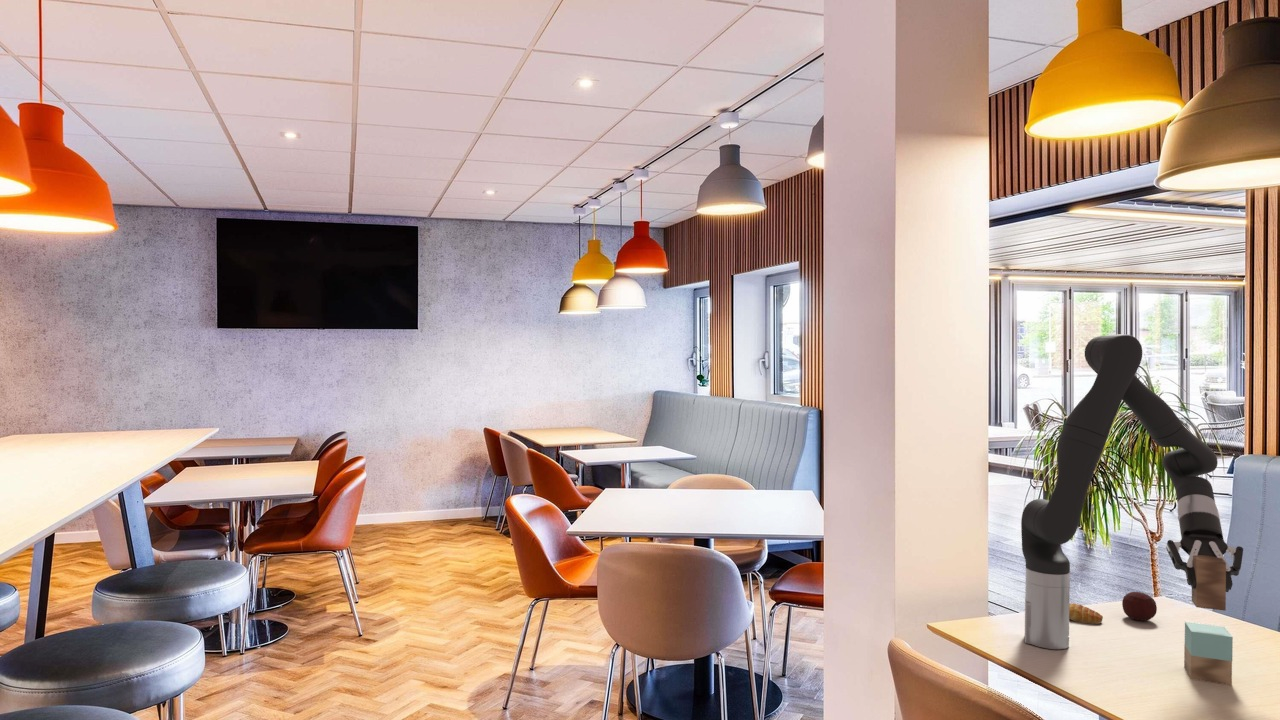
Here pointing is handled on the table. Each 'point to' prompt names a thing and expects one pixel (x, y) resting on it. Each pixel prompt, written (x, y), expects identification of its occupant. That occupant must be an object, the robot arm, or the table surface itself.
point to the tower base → (1208, 669)
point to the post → (1209, 582)
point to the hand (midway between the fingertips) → (1210, 588)
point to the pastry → (1084, 614)
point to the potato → (1139, 606)
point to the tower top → (1208, 641)
